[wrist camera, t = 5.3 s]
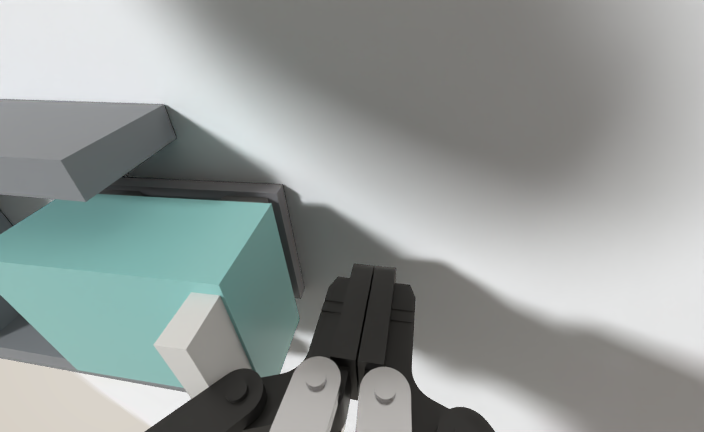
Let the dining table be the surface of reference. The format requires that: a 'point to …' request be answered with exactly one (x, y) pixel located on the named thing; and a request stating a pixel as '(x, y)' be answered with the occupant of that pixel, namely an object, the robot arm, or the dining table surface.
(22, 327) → the bay
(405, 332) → the robot arm
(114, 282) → the teal box with handle
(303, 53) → the dining table surface
